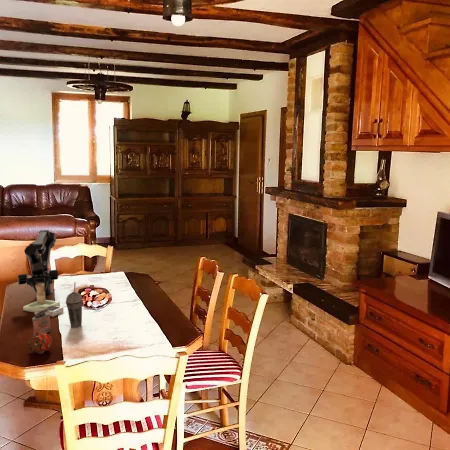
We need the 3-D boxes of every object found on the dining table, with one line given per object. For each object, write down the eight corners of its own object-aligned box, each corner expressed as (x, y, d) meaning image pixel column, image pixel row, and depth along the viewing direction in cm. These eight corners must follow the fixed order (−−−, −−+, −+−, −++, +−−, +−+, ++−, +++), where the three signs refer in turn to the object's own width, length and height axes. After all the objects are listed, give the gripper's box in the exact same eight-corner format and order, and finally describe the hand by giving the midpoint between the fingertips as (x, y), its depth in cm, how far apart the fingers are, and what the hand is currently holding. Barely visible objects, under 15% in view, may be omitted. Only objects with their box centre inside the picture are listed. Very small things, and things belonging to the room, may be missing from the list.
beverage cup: (64, 327, 214) (60, 284, 211) (76, 322, 221) (72, 279, 217) (76, 330, 211) (72, 286, 208) (88, 324, 217) (85, 281, 214)
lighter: (37, 336, 205) (34, 313, 204) (31, 334, 207) (29, 312, 205) (52, 330, 212) (50, 308, 210) (47, 328, 214) (45, 306, 212)
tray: (41, 302, 249) (41, 299, 248) (59, 305, 244) (59, 301, 244) (23, 310, 238) (23, 306, 238) (42, 313, 233) (41, 309, 233)
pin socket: (52, 310, 237) (52, 305, 237) (63, 312, 235) (63, 307, 234) (42, 314, 231) (41, 309, 231) (53, 316, 228) (52, 311, 228)
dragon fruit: (40, 362, 184) (39, 354, 195) (57, 346, 187) (56, 339, 198) (24, 347, 182) (24, 340, 193) (42, 330, 184) (41, 324, 196)
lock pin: (41, 301, 243) (39, 282, 241) (47, 302, 242) (45, 283, 240) (35, 304, 240) (33, 284, 238) (41, 305, 238) (39, 285, 236)
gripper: (16, 258, 236) (20, 286, 228) (56, 254, 244) (61, 280, 236) (16, 270, 244) (20, 297, 236) (55, 265, 252) (60, 291, 245)
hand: (40, 291), depth 238 cm, fingers closed on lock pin, 4 cm apart
